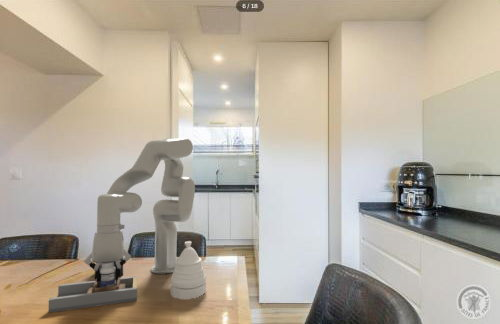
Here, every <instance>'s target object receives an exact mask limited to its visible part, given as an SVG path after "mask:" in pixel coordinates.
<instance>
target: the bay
mask: <svg viewBox="0 0 500 324" xmlns="http://www.w3.org/2000/svg"><path fill="white" fill-rule="evenodd" d="M119 278H120V283H126V287H125V289H120V290H112V291H104V292H95V293H87V292H88V290H89V288H90V287H93V286H94V283H95V281H96V280H91V281H90V280H89V281H82V282H72V283H63V284H58V287H57V296H55V297H50V298H49V299H48V314H49V313H55V312H63V311H70V310H77V309H86V308H92V307H101V306H108V305H113V304H114V305H115V304H120V303H128V302H129V303H130V302H135V301H136V302H137V300H138V297H137V296H138V276H137V275H135V276H129V277H128V276H126V277H119Z"/></svg>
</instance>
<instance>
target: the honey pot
mask: <svg viewBox="0 0 500 324" xmlns="http://www.w3.org/2000/svg"><path fill="white" fill-rule="evenodd" d="M191 245H192V241H191V240H188V241H185V242H184V246H185V248H184V249H183V250H182V251H181V253H180V255H179V257H177V259H176V260H175V264H176V267H175V269H174V272H172V276H171V278H170V296H171V295H172V296H173V297H172V296H171V297H172V298H174V297H175V299H177V298H179V299H178V300H192V299H191V298H194V299H196V298H195V297H197V298H200V297H202V296H203V294H204V293H205V294H206V291H207V280H206V279H207V276H206V274H205V270H204V266H203V265H202V258H201V257H199V255H198V253H197V251H196V250H195V249H194V248H193V247H192V246H191ZM177 261H178V262H177ZM205 294H204V295H205ZM201 295H202V296H201ZM199 296H200V297H199Z"/></svg>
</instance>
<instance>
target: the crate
mask: <svg viewBox="0 0 500 324" xmlns="http://www.w3.org/2000/svg"><path fill="white" fill-rule="evenodd" d="M120 278H121V277H118V280H116V286H109V287H101V288H99V282H97V280H94V281H95V283H94V286H93V287H90V288H89V290H88V292H87V293H95V292H104V291H112V290H120V289H125V287H126V283H120Z"/></svg>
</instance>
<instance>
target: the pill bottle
mask: <svg viewBox="0 0 500 324" xmlns="http://www.w3.org/2000/svg"><path fill="white" fill-rule="evenodd" d="M102 267H103V268H101V269H100V274H99V288H101V287H109V286H116V267H114V261H111V262H102Z"/></svg>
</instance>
